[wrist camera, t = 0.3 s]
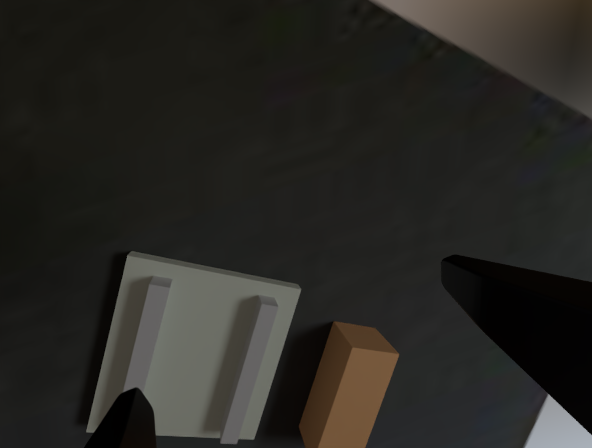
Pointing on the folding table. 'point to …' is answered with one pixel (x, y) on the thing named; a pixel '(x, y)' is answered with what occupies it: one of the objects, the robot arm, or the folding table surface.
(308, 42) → the folding table surface
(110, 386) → the deck plate
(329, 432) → the chute block
